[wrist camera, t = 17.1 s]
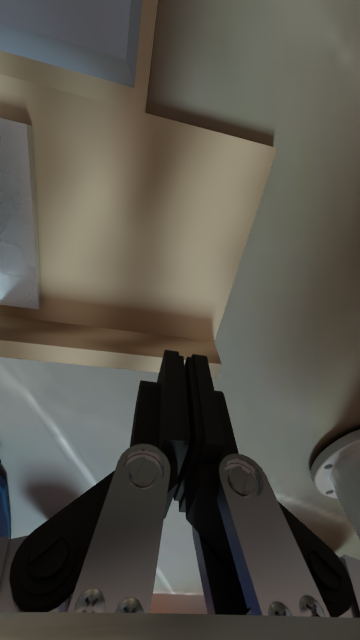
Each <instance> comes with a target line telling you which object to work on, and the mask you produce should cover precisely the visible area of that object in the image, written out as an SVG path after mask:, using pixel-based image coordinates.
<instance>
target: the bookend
mask: <svg viewBox="0 0 360 640" xmlns="http://www.w3.org/2000/svg"><path fill="white" fill-rule="evenodd" d="M0 305H7V306H15V307H23V308H31V309H38V310H39V309H40V307H41V306H42V290H41V272H40V255H39V238H38V220H37V203H36V186H35V168H34V151H33V134H32V125H28V124H24V123H19V122H15V121H11V120H7V119H3V118H0Z"/></svg>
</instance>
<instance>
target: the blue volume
mask: <svg viewBox="0 0 360 640" xmlns="http://www.w3.org/2000/svg"><path fill="white" fill-rule="evenodd" d="M0 463H1V460H0ZM5 536H10V539H11V517H10V508H9V498H8V489H7V483H6V481H5V480H4V479H3V478H2V476H1V475H0V537H5Z"/></svg>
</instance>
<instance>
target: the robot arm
mask: <svg viewBox="0 0 360 640" xmlns="http://www.w3.org/2000/svg"><path fill="white" fill-rule="evenodd" d="M310 473H311V479H312V481H313V483H314V485H315V487H316V489H317V490H318V491H319V492H320V493H322V494H323V495H326V496H328V497H332V498H337V499H339V501H340V503H341V505H342V507H343V509H344V510H345V512H346V514H347V516H348V518H349V520H350V522H351V523H352V525H353V527H354V529H355V531H356V533H357V535H358V536H359V538H360V429H359V430H356V431H354V432H351V433H349V434H347V435H345V436H343V437H341V438H340V439H338V440H336V441H335V442H333V443H332V444H330V445H329V446H328V447H327V448H326V449H324V450H323V451H322V452H321V453H320V454H319V456H318V457H317V458H316V459H315V461H314V463H313V465H312V468H311V472H310ZM172 498H174V500H175V501H179V512H186V519H187V520H188V522H189V523H190V524H191V525H192V532H193V540H194V545H195V550H196V555H197V561H198V566H199V571H200V577H201V582H202V587H203V592H204V598H205V603H206V608H207V614H159V613H158V614H157V613H156V614H155V613H154V614H153V613H150V609H151V602H152V595H153V589H154V582H155V575H156V568H157V561H158V554H159V547H160V540H161V533H162V527H163V520H164V518H165V517H166V515H167V512H168V509H169V507H170V504H171V501H172ZM0 640H360V560H358V559H356V558H353V557H350V556H347V555H343V556H342V557H339V556H337V555H336V554H335V553H334V552H333V551H332V550H331V549H330V548H329V547H328V546H327V545H326V544H325V543H324V542H323V541H322V540H321V539H319V538H318V537H317V536H316V535H315V534H314V533H313V532H312V531H311V530H309V529H308V528H307V527H306V526H305V525H304V524H303V523H302V522H300V521H299V520H298V519H297V518H296V517H295V516H294V515H293V514H292V513H290V512H289V511H288V510H287V509H286V508H285V507H284V506H283V505H281V504H280V503H279V502H278V501H277V499H276V497H275V494H274V492H273V490H272V488H271V486H270V483H269V481H268V479H267V477H266V475H265V473H264V472H263V470H262V468H261V467H260V466H259V465H258V464H257V463H256V462H255V461H254V460H252V459H251V458H249V457H247V456H244V455H242V454H239V453H238V449H237V445H236V441H235V437H234V433H233V429H232V425H231V421H230V417H229V413H228V409H227V405H226V401H225V397H224V394H223V393H222V392H221V391H214V387H213V382H212V377H211V373H210V368H209V363H208V358H207V356H204V355H197V354H192V356H191V357H187V358H186V361H185V365H184V356H180V355H179V352H178V351H172V350H165V351H164V354H163V359H162V363H161V367H160V372H159V376H158V380H157V383H156V382H149V381H142V380H141V381H140V385H139V390H138V396H137V401H136V407H135V414H134V421H133V428H132V435H131V442H130V448H128V449H127V450H126V451H125V452H124V453H123V454H122V455H121V457H120V459H119V461H118V463H117V466H116V469H115V471H113V472H112V473H111V474H109V475H108V476H107V477H105V478H104V479H103V480H101V481H100V482H99V483H97V484H96V485H94V486H93V487H92V488H90V489H89V490H88V491H86V492H85V493H84V494H82V495H81V496H80V497H78V498H77V499H76V500H74V501H73V502H72V503H70V504H69V505H68V506H66V507H65V508H64V509H62V510H61V511H60V512H58V513H57V514H56V515H54V516H53V517H51V518H50V519H49V520H47V521H46V522H45V523H43V524H42V525H41V526H39V527H38V528H37V529H35V530H34V531H33V532H32V533H31V534H30V535H29V536H24V537H19V538H14V539H10V536H5V537H0Z"/></svg>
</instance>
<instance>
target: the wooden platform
mask: <svg viewBox="0 0 360 640" xmlns="http://www.w3.org/2000/svg"><path fill="white" fill-rule="evenodd" d="M157 5H158V0H143V1H142V12H141V22H140V33H139V44H138V54H137V65H136V76H135V87H134V88H133V87H129V86H126V85H122V84H118V83H115V82H111V81H108V80H104V79H101V78H97V77H94V76H90V75H86V74H83V73H79V72H76V71H72V70H69V69H65V68H62V67H58V66H54V65H51V64H47V63H44V62H40V61H37V60H33V59H30V58H26V57H22V56H19V55H15V54H12V53H8V52H5V51H1V50H0V118H3V119H7V120H11V121H15V122H19V123H24V124H28V125H32V134H33V151H34V168H35V186H36V203H37V220H38V238H39V255H40V272H41V290H42V306H41V307H40V309H39V310H38V309H31V308H23V307H15V306H7V305H0V357H6V358H16V359H26V360H36V361H46V362H56V363H67V364H77V365H87V366H97V367H107V368H117V369H128V370H138V371H148V372H158V373H159V372H160V367H161V363H162V359H163V354H164V351H165V350H172V351H178V352H179V355H180V356H184V365H185V361H186V358H187V357H191V356H192V354H197V355H204V356H207V358H208V363H209V368H210V373H211V377H212V378H217V375H218V372H219V369H220V367H221V361H220V358H219V355H218V352H217V349H216V346H215V343H214V341H215V338H216V334H217V331H218V328H219V325H220V322H221V319H222V316H223V313H224V310H225V307H226V304H227V301H228V298H229V295H230V292H231V289H232V286H233V283H234V280H235V277H236V274H237V271H238V268H239V265H240V262H241V259H242V256H243V253H244V250H245V247H246V244H247V241H248V238H249V235H250V232H251V229H252V226H253V223H254V220H255V216H256V213H257V210H258V207H259V204H260V201H261V198H262V195H263V192H264V189H265V186H266V183H267V180H268V177H269V174H270V171H271V168H272V165H273V162H274V159H275V156H276V153H277V150H278V148H275V147H271V146H268V145H264V144H260V143H256V142H253V141H249V140H245V139H241V138H238V137H234V136H230V135H226V134H223V133H219V132H215V131H211V130H208V129H204V128H200V127H196V126H193V125H189V124H185V123H181V122H178V121H174V120H170V119H166V118H163V117H159V116H155V115H151V114H148V113H145V111H146V102H147V93H148V85H149V76H150V67H151V58H152V49H153V40H154V32H155V23H156V14H157Z"/></svg>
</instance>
